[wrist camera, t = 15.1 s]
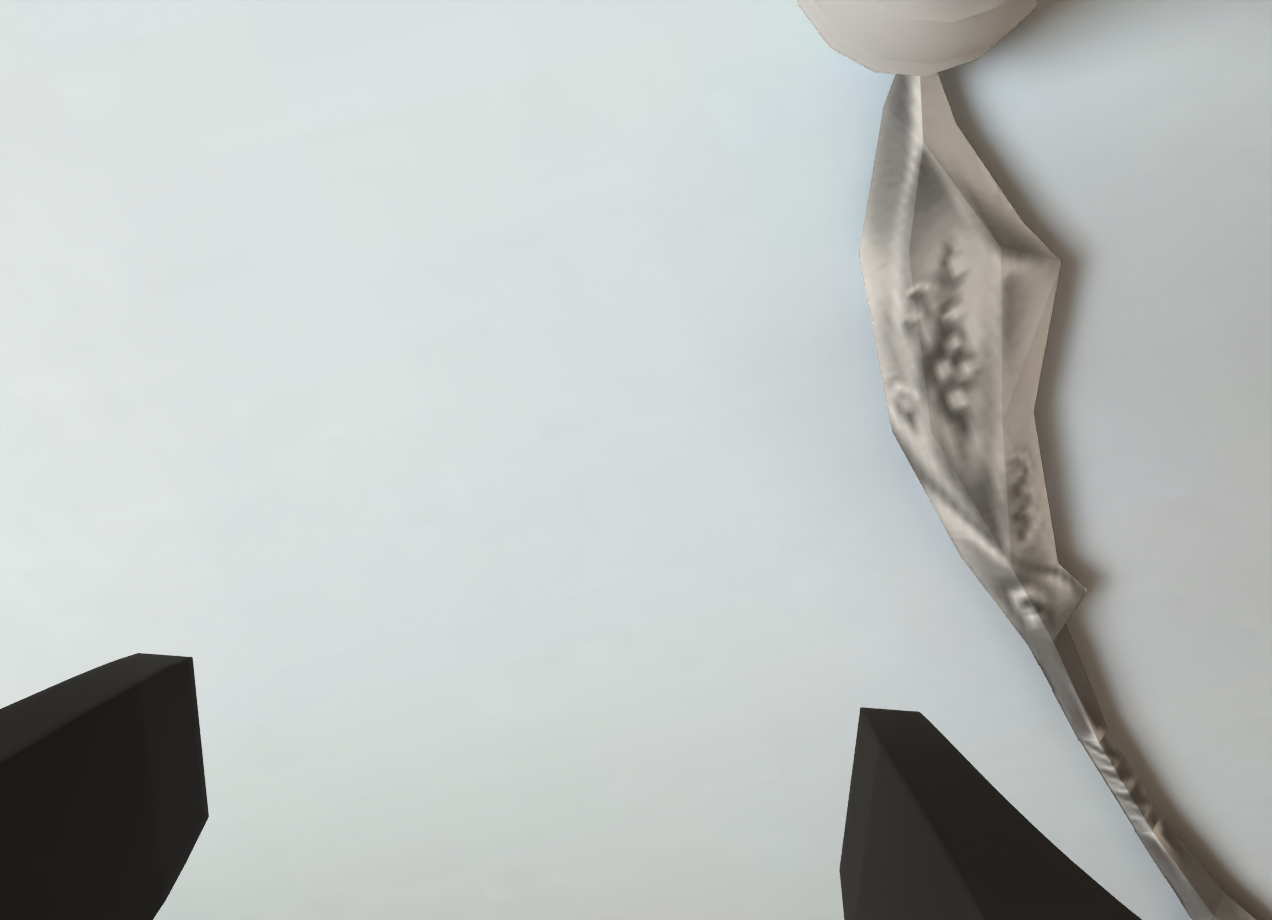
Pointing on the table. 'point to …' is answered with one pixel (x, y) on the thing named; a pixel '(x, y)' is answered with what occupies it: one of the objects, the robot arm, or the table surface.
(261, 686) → the table surface
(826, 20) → the rook chess piece
